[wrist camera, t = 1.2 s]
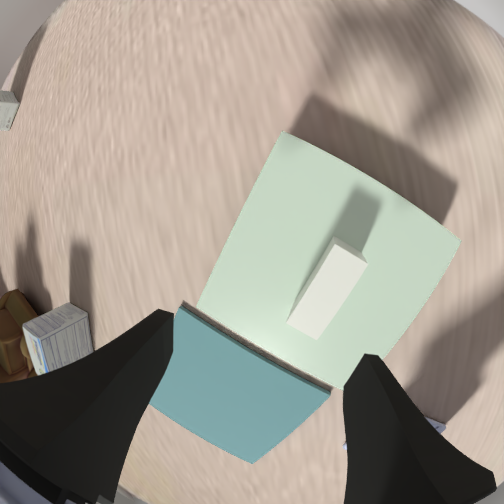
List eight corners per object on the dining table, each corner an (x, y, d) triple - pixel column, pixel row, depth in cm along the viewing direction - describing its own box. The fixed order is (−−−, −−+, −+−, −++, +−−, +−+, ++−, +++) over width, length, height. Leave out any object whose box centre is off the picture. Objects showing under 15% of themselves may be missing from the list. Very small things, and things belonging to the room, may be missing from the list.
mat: (330, 392, 22) (330, 395, 21) (253, 461, 27) (252, 464, 26) (181, 305, 24) (179, 307, 24) (145, 397, 29) (143, 399, 29)
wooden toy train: (58, 388, 38) (4, 426, 22) (27, 351, 40) (-25, 381, 24) (56, 319, 32) (-27, 361, 16) (23, 278, 34) (-51, 305, 18)
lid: (450, 236, 15) (483, 249, 11) (350, 380, 19) (351, 421, 15) (286, 136, 17) (272, 116, 12) (206, 298, 21) (175, 323, 16)
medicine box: (69, 300, 30) (20, 322, 22) (89, 312, 29) (38, 338, 21) (76, 348, 32) (35, 373, 24) (96, 361, 31) (54, 391, 23)
